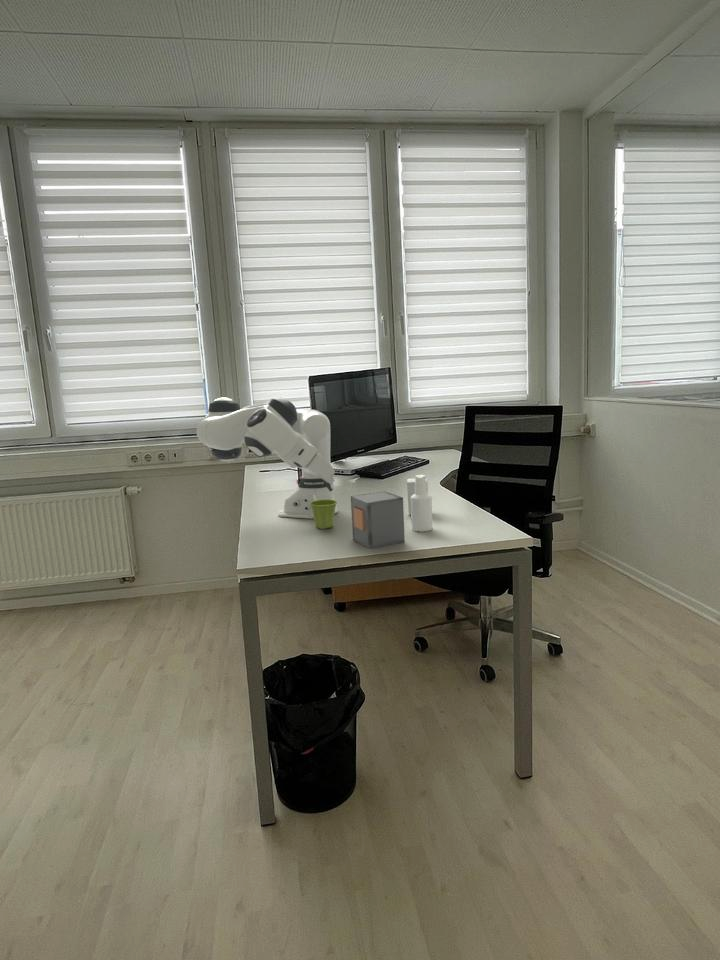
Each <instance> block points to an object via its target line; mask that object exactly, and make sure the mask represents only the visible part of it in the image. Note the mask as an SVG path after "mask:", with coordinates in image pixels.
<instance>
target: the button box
mask: <svg viewBox="0 0 720 960" xmlns="http://www.w3.org/2000/svg"><path fill="white" fill-rule="evenodd" d="M354 507H358V508H360V509H362V510H364V520H365V530H361V529H359V528H357V527H355V526H354ZM350 509H351V523H352V524H351V526H352V529H351V530H352V540H353V541H356V542H357V543H359V544H361V545H362V546H364V547H365V548H368V549H373V548H375V549H376V548H381V547H385V546H390V545H396V543H397V544H400V543H405V540H406V539H405V538H406V537H405V515H404V497H403V496H399V495H397V494H394V493H391V492H388V491H378V492H372V493H370V492H369V493H364V494H356V495H352V496H350Z"/></svg>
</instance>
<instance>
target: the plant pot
mask: <svg viewBox="0 0 720 960" xmlns="http://www.w3.org/2000/svg"><path fill="white" fill-rule="evenodd" d="M337 503H338V500H335V499H334V500H316V501H312V502H310V505H311V507H312V509H313V514H314V518H313V520H314V523H315V528H318V529H320V530H326V529H328V528H333V527H334V524H335V523H334V522H335V514H336V513H335V507H337ZM334 513H335V514H334Z"/></svg>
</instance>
